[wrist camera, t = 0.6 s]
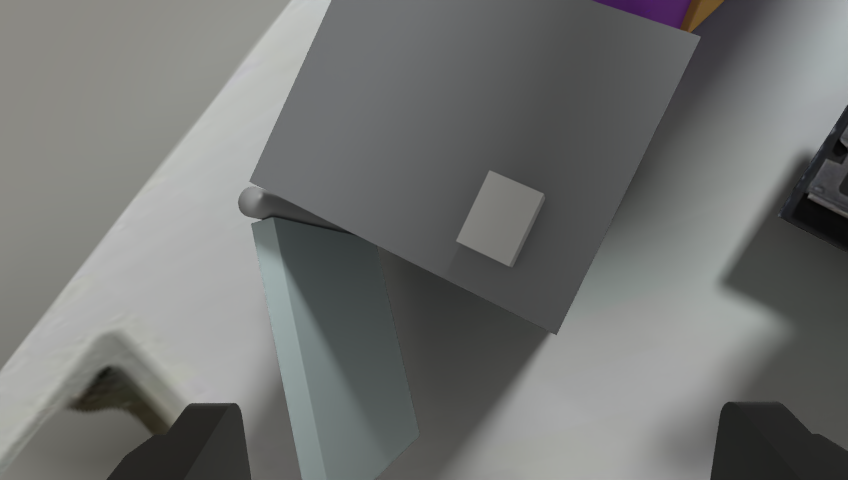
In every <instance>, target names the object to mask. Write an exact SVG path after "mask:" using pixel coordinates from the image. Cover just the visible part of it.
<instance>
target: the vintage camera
mask: <svg viewBox="0 0 848 480" xmlns="http://www.w3.org/2000/svg"><path fill="white" fill-rule="evenodd" d="M777 216H779V217H781V218H782V219H784V220H786V221H788V222H789V223H791V224H793V225H795V226H797V227H799V228H801V229H803V230H805V231H807V232H809V233H811V234H813V235H815V236H817V237H818V238H820V239H822V240H824V241H826V242H828V243H830V244H832V245H834V246H836V247H838V248H840V249H842V250H844V251H846V252H848V105H847V107H846V108H845V110H844V111H843V113H842V115H841V116H840V118H839V119H838V121H837V123H836V124H835V126H834V127H833V129H832V130H831V132H830V133H829V135H828V137H827V138H826V140H825V141H824V143H823V144H822V146H821V147H820V149H819V150H818V152H817V154H816V155H815V157H814V158H813V160H812V161H811V163H810V165H809V166H808V168H807V169H806V171H805V172H804V174H803V176H802V177H801V179H800V180H799V182H798V183H797V185H796V186H795V188H794V190H793V191H792V193H791V194H790V196H789V198H788V199H787V201H786V202H785V204H784V206H783V207H782V209H781V210H780V212H779V214H778V215H777Z"/></svg>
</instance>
